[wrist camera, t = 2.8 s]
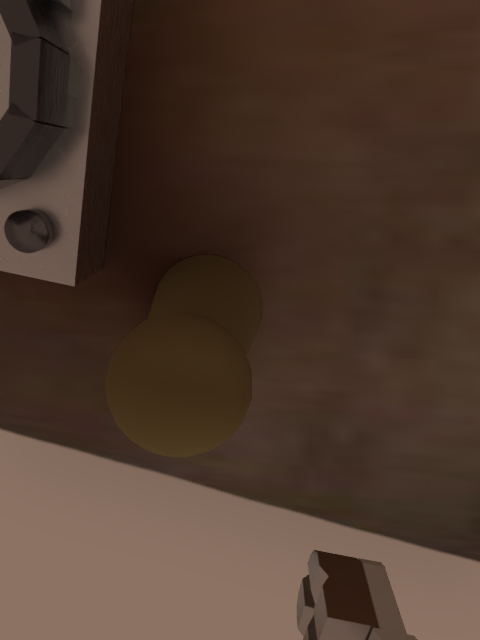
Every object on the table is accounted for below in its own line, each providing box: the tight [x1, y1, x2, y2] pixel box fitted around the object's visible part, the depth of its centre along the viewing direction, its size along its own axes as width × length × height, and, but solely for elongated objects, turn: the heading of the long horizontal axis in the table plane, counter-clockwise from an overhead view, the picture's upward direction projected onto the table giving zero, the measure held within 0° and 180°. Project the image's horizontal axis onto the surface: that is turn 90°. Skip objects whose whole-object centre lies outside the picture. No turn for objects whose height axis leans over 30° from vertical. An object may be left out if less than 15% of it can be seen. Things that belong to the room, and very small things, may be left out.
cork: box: [105, 255, 262, 457], centre depth 20 cm, size 6×6×11 cm
